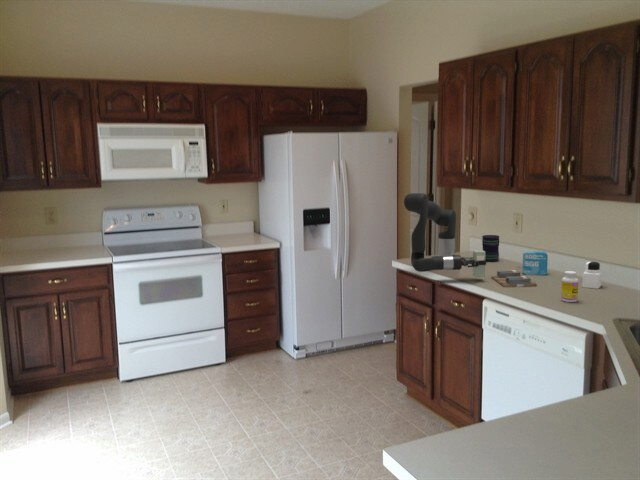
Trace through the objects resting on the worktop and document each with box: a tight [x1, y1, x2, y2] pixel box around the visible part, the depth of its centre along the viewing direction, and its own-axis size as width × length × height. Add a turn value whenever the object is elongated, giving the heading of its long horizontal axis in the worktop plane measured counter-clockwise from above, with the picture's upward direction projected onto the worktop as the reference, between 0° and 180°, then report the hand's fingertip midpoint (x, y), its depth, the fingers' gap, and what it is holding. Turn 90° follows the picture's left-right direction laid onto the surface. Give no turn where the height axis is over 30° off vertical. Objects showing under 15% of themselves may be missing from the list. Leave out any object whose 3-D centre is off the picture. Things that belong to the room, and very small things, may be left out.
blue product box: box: [522, 250, 548, 276], centre depth 301 cm, size 12×4×12 cm, turn 73°
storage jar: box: [481, 234, 500, 263], centre depth 338 cm, size 10×10×15 cm
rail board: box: [490, 269, 538, 288], centre depth 285 cm, size 20×16×4 cm
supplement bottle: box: [560, 270, 579, 303], centre depth 248 cm, size 7×7×13 cm
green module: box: [472, 249, 486, 278], centre depth 289 cm, size 5×5×13 cm
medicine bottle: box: [582, 261, 602, 290], centre depth 271 cm, size 7×7×12 cm
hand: (484, 261), depth 289 cm, fingers closed on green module, 4 cm apart
